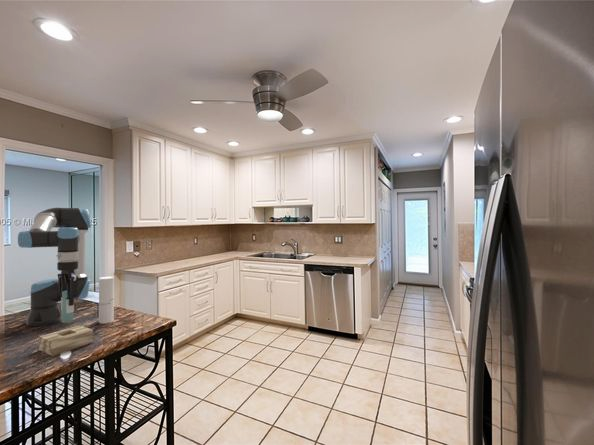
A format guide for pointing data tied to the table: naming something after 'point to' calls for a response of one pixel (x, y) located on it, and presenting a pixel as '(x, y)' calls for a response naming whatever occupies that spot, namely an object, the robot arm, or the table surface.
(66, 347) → the block
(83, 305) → the table surface
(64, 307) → the pin
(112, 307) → the cylindrical container
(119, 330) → the table surface
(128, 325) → the table surface
